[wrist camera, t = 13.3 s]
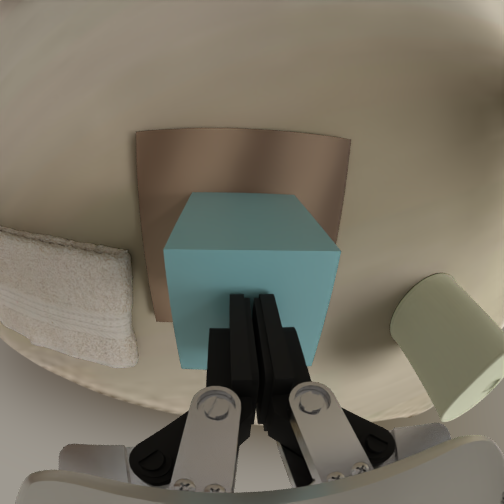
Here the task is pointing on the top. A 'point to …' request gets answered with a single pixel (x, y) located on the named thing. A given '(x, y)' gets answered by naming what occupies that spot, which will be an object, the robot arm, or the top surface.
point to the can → (449, 344)
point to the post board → (231, 180)
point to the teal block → (247, 267)
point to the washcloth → (68, 296)
